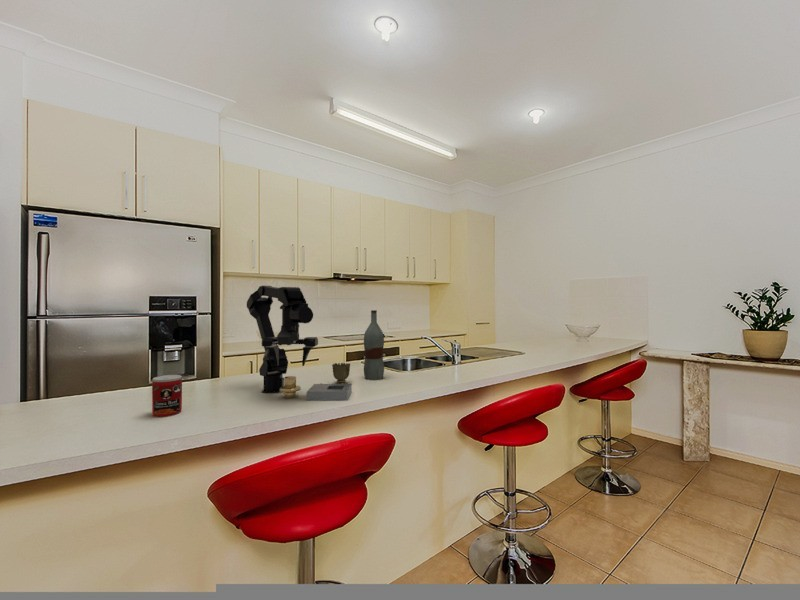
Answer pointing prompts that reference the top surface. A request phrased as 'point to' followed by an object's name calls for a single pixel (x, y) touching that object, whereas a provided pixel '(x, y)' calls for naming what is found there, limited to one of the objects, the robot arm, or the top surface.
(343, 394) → the block
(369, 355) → the bottle
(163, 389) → the canned food
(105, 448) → the top surface
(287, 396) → the brass bushing
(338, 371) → the cup
